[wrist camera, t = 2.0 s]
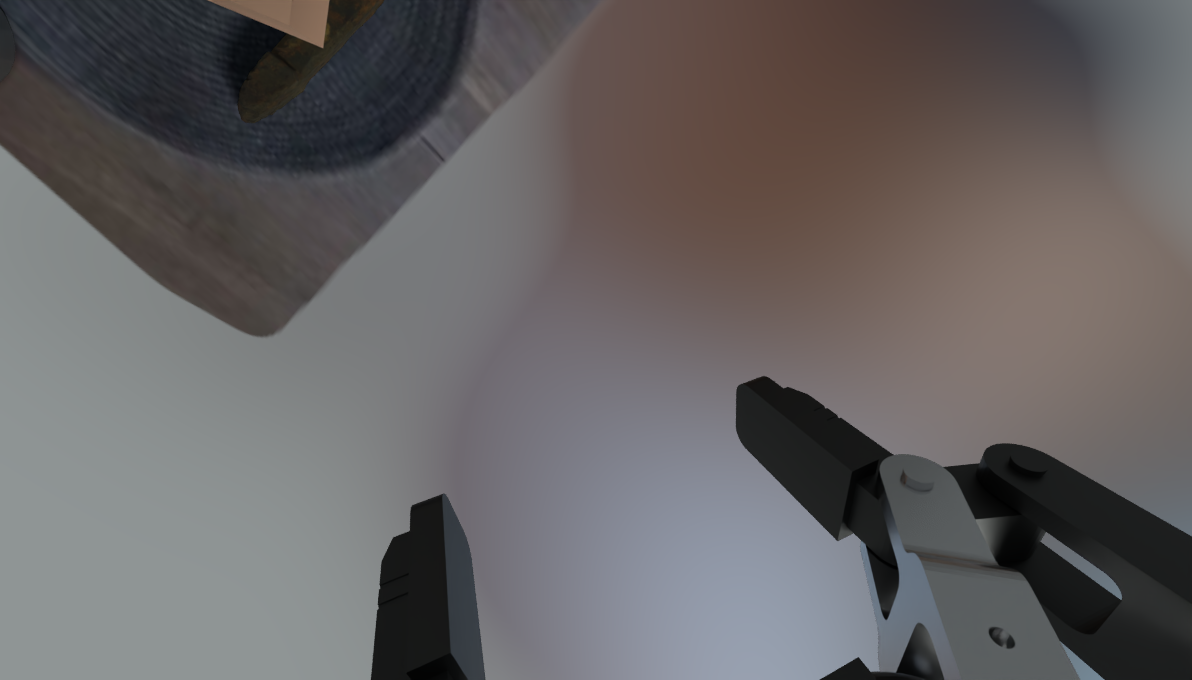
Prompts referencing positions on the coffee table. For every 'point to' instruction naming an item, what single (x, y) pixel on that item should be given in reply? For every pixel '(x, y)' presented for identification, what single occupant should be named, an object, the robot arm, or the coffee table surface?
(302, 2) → the bar
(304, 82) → the hand tool
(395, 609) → the robot arm
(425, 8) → the coffee table surface
